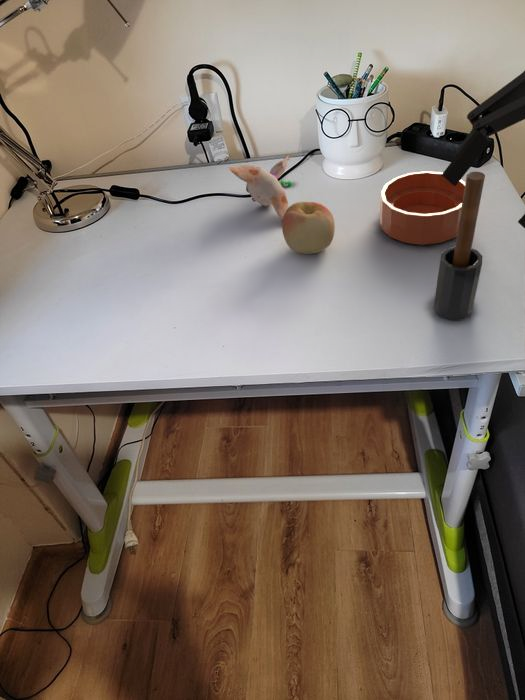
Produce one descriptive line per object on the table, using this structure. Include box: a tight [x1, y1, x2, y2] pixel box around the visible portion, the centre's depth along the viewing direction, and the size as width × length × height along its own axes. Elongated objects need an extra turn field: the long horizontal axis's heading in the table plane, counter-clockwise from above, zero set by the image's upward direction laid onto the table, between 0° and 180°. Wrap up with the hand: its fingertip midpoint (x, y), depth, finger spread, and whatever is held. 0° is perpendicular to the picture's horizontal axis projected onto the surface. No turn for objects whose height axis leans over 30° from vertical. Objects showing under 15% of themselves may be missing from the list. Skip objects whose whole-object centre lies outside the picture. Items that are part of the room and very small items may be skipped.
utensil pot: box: [433, 246, 483, 322], centre depth 70 cm, size 5×5×9 cm
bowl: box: [379, 170, 466, 246], centre depth 87 cm, size 14×14×6 cm
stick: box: [452, 171, 486, 267], centre depth 66 cm, size 2×2×20 cm
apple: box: [281, 201, 336, 255], centre depth 86 cm, size 9×9×8 cm
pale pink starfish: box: [228, 154, 293, 221], centre depth 99 cm, size 15×8×15 cm
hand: (483, 203), depth 62 cm, fingers open, 13 cm apart
